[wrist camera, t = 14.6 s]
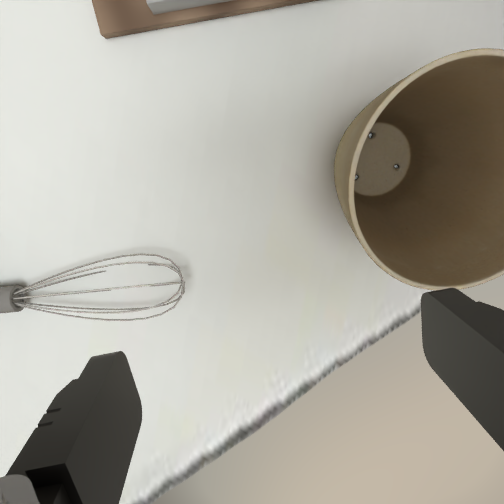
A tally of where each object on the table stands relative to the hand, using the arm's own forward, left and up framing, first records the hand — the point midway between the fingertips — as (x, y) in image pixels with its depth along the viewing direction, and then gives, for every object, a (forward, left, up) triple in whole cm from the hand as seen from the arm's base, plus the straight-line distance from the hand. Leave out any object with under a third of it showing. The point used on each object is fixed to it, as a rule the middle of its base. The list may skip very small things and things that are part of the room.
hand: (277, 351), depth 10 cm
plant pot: (-14, 0, -30) cm, 33 cm away
